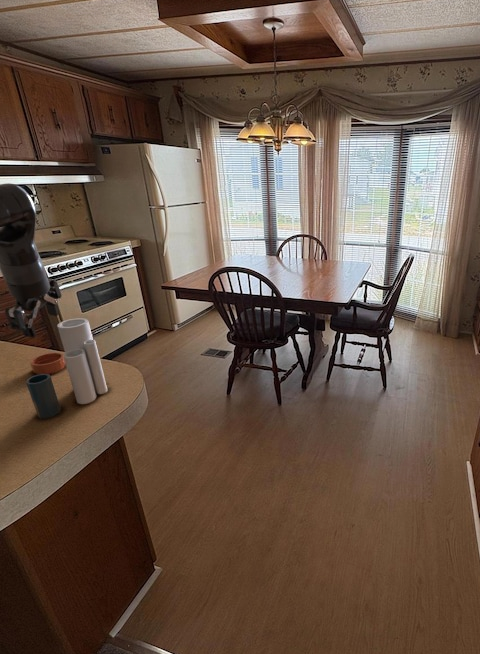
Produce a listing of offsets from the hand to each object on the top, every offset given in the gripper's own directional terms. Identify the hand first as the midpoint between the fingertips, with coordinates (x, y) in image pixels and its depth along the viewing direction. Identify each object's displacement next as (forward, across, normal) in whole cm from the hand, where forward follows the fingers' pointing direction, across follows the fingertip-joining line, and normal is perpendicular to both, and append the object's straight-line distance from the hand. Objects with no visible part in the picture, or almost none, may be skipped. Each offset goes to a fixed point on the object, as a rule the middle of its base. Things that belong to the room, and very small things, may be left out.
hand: (43, 325), depth 88 cm
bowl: (+24, -4, -6) cm, 25 cm away
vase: (+16, +6, +13) cm, 22 cm away
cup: (+14, +15, +8) cm, 22 cm away
